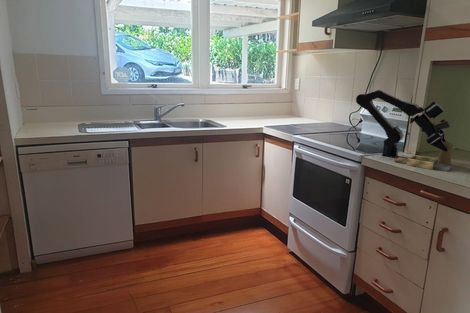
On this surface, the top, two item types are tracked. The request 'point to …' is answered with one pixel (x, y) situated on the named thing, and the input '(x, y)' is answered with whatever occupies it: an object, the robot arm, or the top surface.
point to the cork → (445, 154)
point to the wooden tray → (423, 163)
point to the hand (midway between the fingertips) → (447, 149)
